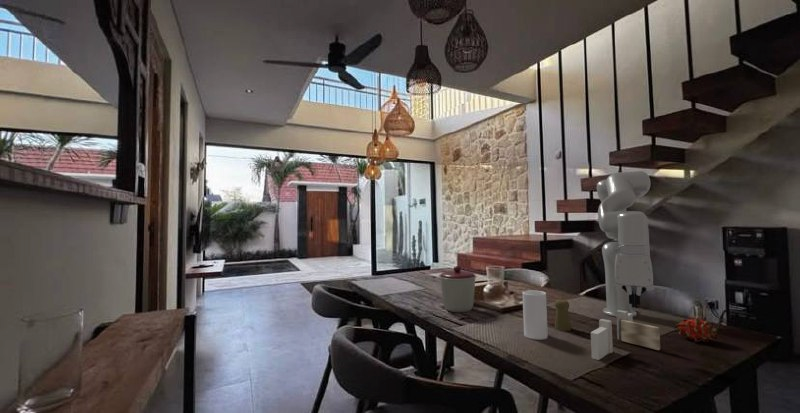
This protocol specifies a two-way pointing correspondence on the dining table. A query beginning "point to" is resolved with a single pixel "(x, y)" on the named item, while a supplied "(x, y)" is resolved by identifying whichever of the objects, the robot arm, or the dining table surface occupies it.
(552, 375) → the dining table surface
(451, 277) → the canister
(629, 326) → the gate
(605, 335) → the wall frame
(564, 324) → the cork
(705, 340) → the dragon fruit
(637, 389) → the dining table surface
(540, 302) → the cup
